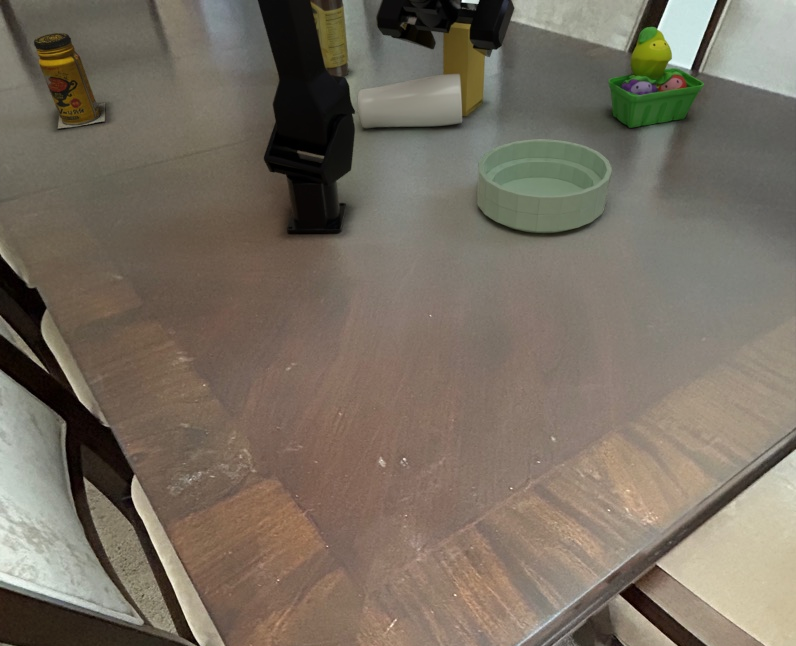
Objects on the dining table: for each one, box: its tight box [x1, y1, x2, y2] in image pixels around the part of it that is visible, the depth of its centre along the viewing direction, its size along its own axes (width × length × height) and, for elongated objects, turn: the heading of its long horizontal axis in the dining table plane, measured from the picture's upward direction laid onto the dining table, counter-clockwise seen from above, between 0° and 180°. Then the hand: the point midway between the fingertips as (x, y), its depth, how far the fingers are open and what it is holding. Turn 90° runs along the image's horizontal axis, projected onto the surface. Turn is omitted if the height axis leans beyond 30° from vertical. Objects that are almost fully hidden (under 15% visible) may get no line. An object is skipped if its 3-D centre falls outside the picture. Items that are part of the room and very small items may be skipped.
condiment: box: [33, 32, 106, 129], centre depth 105 cm, size 7×8×12 cm
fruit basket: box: [608, 26, 705, 129], centre depth 95 cm, size 11×9×11 cm
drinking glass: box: [357, 73, 463, 129], centre depth 99 cm, size 7×7×15 cm
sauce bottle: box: [310, 0, 349, 77], centre depth 112 cm, size 6×6×20 cm
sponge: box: [442, 23, 486, 117], centre depth 101 cm, size 6×4×12 cm, turn 150°
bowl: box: [476, 138, 613, 234], centre depth 80 cm, size 15×15×5 cm
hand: (461, 49), depth 98 cm, fingers open, 9 cm apart
